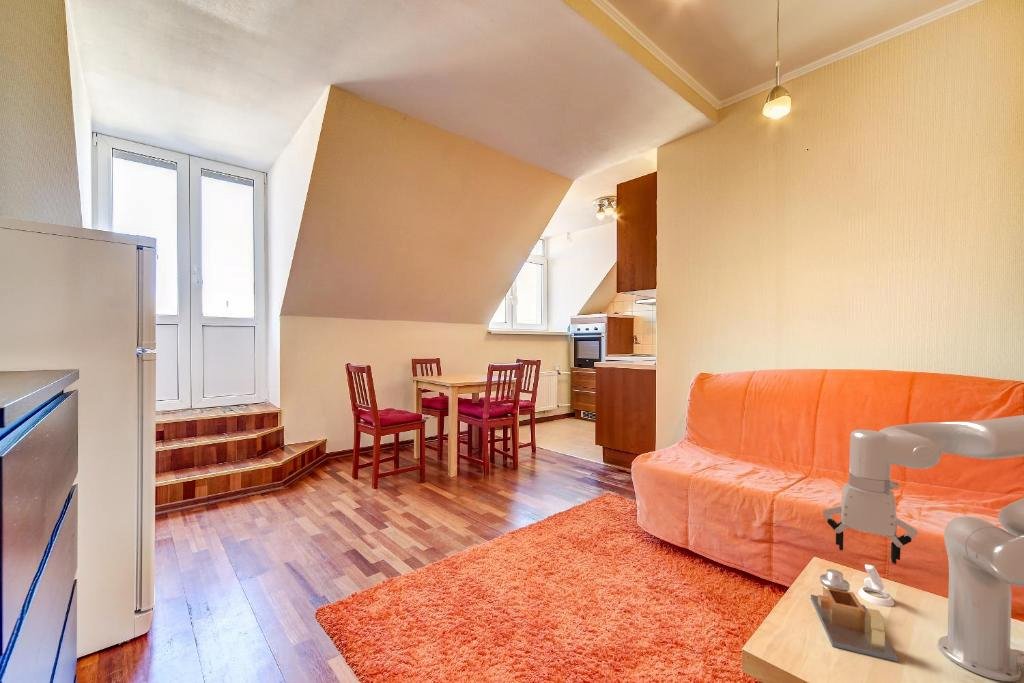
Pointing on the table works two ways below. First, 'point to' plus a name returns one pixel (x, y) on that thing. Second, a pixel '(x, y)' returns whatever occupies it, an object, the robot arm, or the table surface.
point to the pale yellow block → (875, 628)
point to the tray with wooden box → (845, 617)
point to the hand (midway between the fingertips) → (866, 554)
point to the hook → (875, 588)
